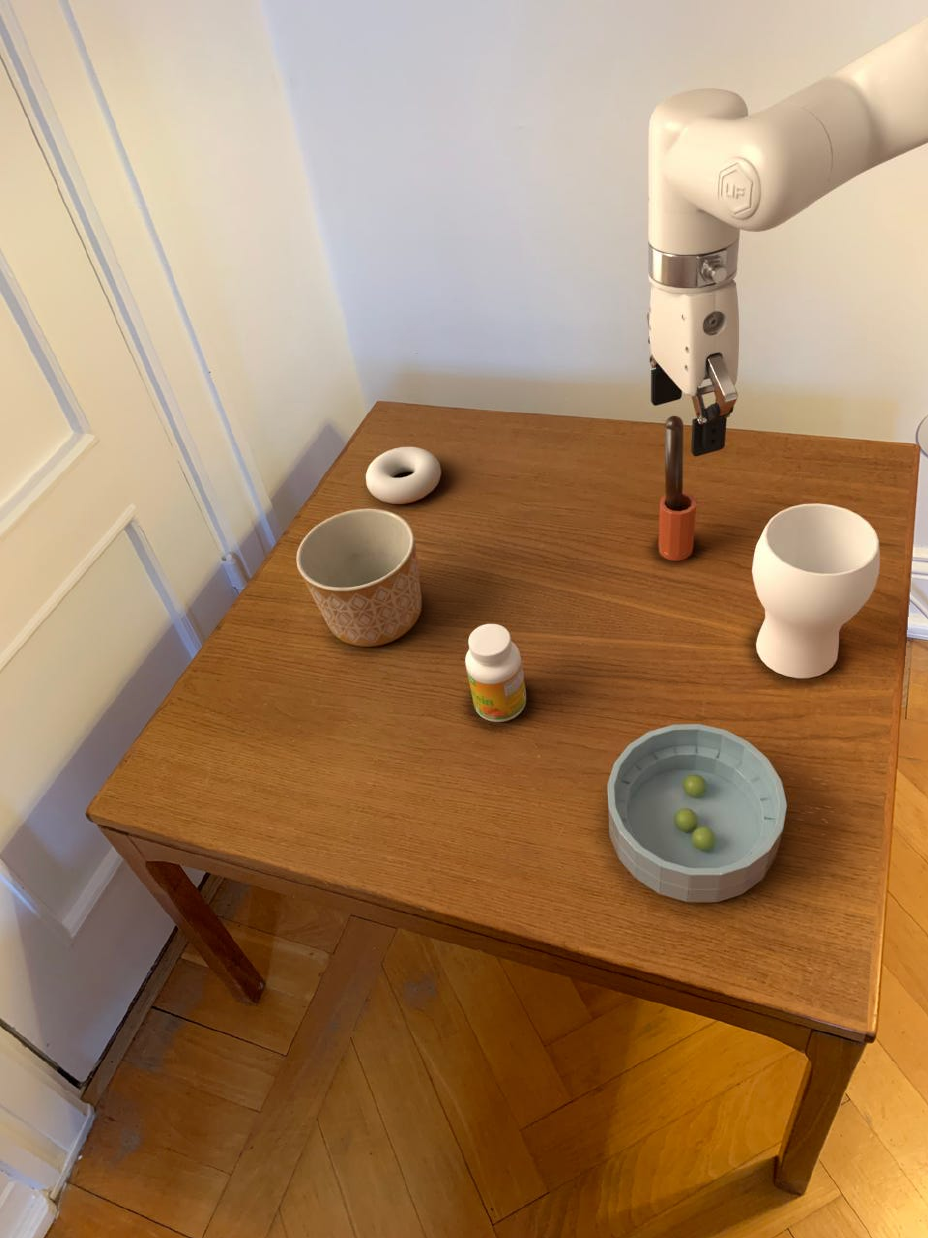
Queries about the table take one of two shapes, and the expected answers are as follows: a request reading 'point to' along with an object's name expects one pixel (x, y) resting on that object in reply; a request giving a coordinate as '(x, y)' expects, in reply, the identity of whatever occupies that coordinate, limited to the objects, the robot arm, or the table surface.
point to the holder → (677, 529)
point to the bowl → (731, 807)
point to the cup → (811, 584)
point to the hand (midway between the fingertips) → (686, 425)
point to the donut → (405, 487)
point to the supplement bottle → (495, 673)
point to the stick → (674, 463)
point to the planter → (363, 575)
